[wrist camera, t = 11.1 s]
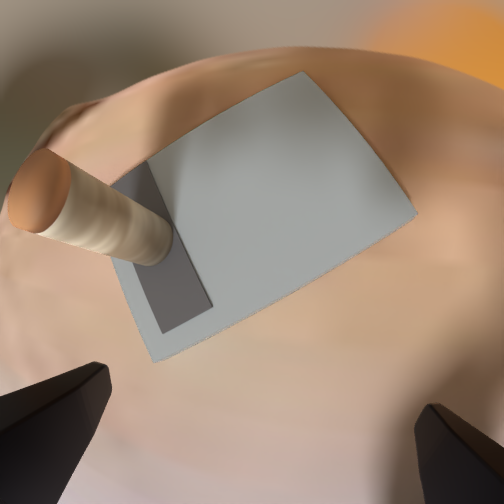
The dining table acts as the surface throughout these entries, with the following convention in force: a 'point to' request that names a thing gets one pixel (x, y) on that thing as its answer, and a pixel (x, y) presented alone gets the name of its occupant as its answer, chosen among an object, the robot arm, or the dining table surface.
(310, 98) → the board
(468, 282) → the dining table surface
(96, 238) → the birch peg
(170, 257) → the strip
